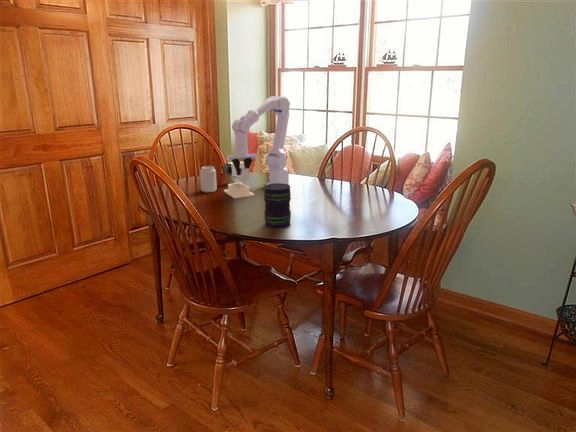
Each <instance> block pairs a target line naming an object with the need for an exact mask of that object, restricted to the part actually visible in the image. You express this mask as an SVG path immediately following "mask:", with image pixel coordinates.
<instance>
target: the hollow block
mask: <svg viewBox="0 0 576 432" xmlns="http://www.w3.org/2000/svg"><path fill="white" fill-rule="evenodd" d="M223 192H224V193H225V194H226V195H228V196H229V197H232V198H233V199H240V198H247V197H255V193H253V192H252V191H251V187H250V186H249V185H246V184H244V183H243V182H241V183H232V182H231V183H228V184H227V189H223Z"/></svg>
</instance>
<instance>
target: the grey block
mask: <svg viewBox="0 0 576 432" xmlns="http://www.w3.org/2000/svg"><path fill="white" fill-rule="evenodd" d="M236 179H238V180H240V182H241V183H243V182H250V167H249V168H247V167H245V166H243V165H242V166H240V175H237V173H236Z"/></svg>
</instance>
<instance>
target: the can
mask: <svg viewBox="0 0 576 432" xmlns="http://www.w3.org/2000/svg"><path fill="white" fill-rule="evenodd" d="M199 176H200V177H199V179H200V191H202V192H203V193H207V194H208V193H210V192H211V193H215V192H216V190H217V189H218V188H217V184H218V183H217V170H216V169H215V166H212V165H206V166H202V167H201V169H200V170H199Z"/></svg>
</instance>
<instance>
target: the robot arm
mask: <svg viewBox="0 0 576 432" xmlns="http://www.w3.org/2000/svg"><path fill="white" fill-rule="evenodd" d="M290 106H291V101H290V100H289V98H288V97H286V96H274V95H271V96H269V97H268V98H266V99H265V102H263V103H262V104H261V105H260V106H258V107H257V108H256V109H255V110H253V109H251V110H248V111H247V113H246V114H244V115H242V116H240V119H239V118H238V119H237V118H236V119H235V120H234V121H233V122H232V125H231V129H232V131H233V132H234V133H233V134H234V146H235V154H232V155H226V161H229V162H230V161H231V162H233V164H234V166H235V169H236V173H237V175H240V161H241V160H243V162H244V164H245V167H247V168H249V169H250V167H251V165H252V162H253V159H258V154H257V153H249V151H248V150H249V148H248V147H249V146H248V132H249V131H250V129H251V127H252V126H254V125H255V124H256V123H257V122H258V121H259V120H260V117H261V116H262V115H264V114H265V113H266V112H268V111H270V110H271V111H272V112H273V113H274V114H275V115H276V116H277V120H276V125H275V130H274V137H273V142H272V147H271V149H270V150H269V151H268V153H267V156H266V158H265V164H266V165H267V169H268V176H269V179H268V180H269V181H268V182H269V183H266V184H265V185H268V184H275V183H281V184H288V185H290V184H289V182H290V181H289V179H290V178H289V177H290V176H289V170H288V168H287V167H286V166H287V153H286V152H285V150H284V148H285V143H286V142H285V141H286V137H287V136H286V135H287V131H288V130H287V129H288V124H289V118H290Z"/></svg>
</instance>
